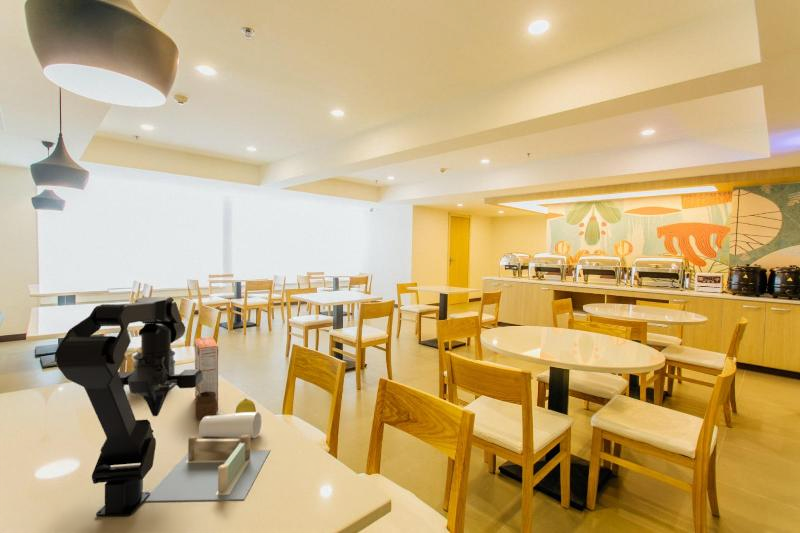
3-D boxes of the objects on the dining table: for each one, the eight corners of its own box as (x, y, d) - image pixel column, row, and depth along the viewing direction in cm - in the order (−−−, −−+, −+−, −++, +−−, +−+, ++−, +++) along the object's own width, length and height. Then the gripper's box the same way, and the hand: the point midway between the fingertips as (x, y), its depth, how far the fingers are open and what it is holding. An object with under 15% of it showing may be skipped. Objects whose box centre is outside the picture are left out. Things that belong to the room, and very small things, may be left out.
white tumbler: (197, 445, 99) (253, 443, 99) (194, 422, 98) (251, 420, 98) (210, 430, 106) (262, 428, 105) (208, 408, 104) (260, 407, 104)
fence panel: (238, 460, 89) (239, 440, 89) (246, 460, 89) (246, 440, 89) (216, 492, 77) (216, 469, 77) (225, 492, 77) (225, 469, 77)
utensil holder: (220, 415, 114) (221, 377, 114) (200, 423, 109) (201, 383, 109) (210, 410, 118) (210, 373, 117) (190, 417, 112) (190, 379, 112)
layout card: (244, 499, 76) (244, 498, 76) (143, 501, 75) (143, 500, 75) (270, 450, 95) (270, 449, 95) (189, 451, 94) (190, 450, 94)
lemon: (247, 419, 112) (248, 393, 112) (259, 424, 109) (259, 397, 109) (231, 426, 107) (231, 399, 107) (242, 431, 104) (243, 403, 104)
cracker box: (193, 398, 127) (194, 338, 126) (213, 394, 131) (213, 336, 130) (197, 413, 116) (198, 347, 115) (218, 409, 119) (219, 345, 118)
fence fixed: (251, 456, 92) (251, 434, 92) (248, 462, 90) (248, 439, 89) (191, 457, 91) (191, 434, 91) (186, 463, 89) (186, 439, 88)
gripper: (89, 361, 77) (89, 435, 77) (187, 358, 80) (186, 428, 81) (118, 347, 87) (118, 412, 88) (203, 346, 91) (202, 407, 92)
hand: (155, 415), depth 87 cm, fingers closed
